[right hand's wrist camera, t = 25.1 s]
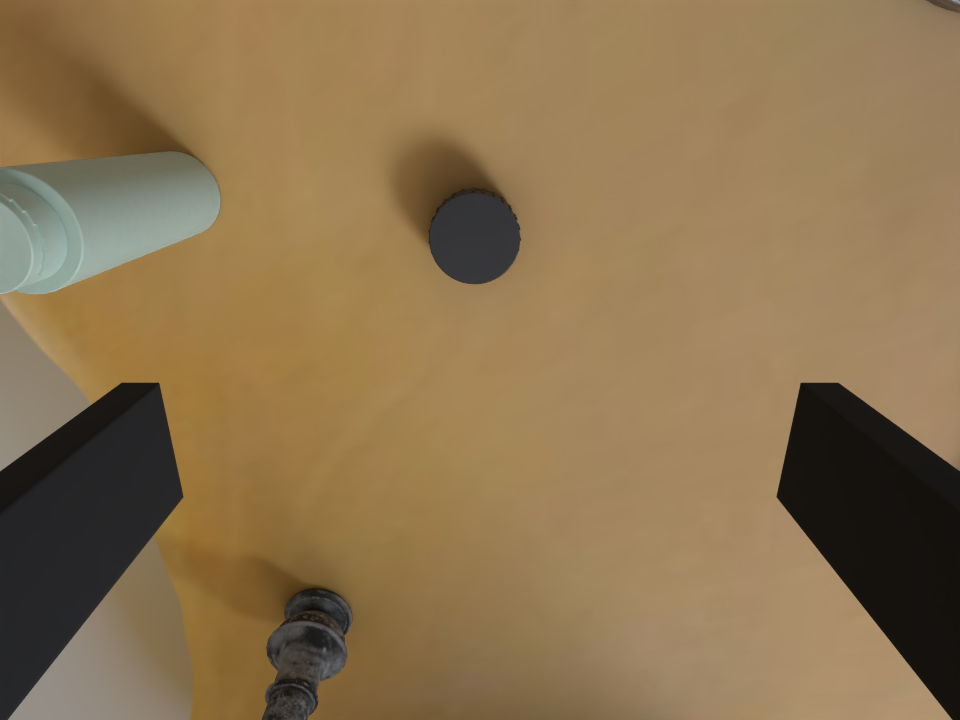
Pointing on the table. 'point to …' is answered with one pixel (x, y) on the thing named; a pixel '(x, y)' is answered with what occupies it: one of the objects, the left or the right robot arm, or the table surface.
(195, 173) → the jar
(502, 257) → the lid
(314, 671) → the dark grey turned figure
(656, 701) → the table surface
